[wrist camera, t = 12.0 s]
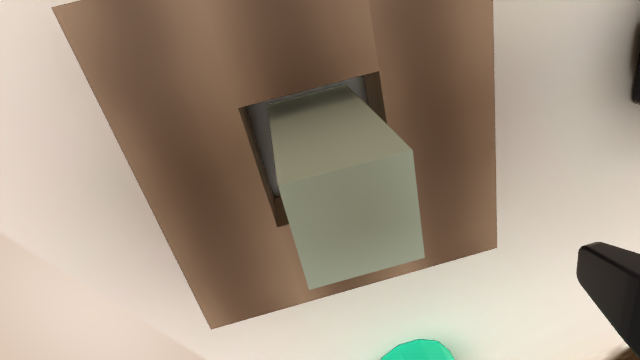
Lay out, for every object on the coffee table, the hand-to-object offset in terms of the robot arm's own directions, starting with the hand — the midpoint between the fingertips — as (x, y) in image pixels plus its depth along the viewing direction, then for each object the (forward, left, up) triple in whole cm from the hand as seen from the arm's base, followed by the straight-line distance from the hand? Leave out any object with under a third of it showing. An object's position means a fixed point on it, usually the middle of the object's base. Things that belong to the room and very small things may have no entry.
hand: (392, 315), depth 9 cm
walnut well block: (0, 0, -13) cm, 13 cm away
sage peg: (0, 0, -13) cm, 13 cm away
